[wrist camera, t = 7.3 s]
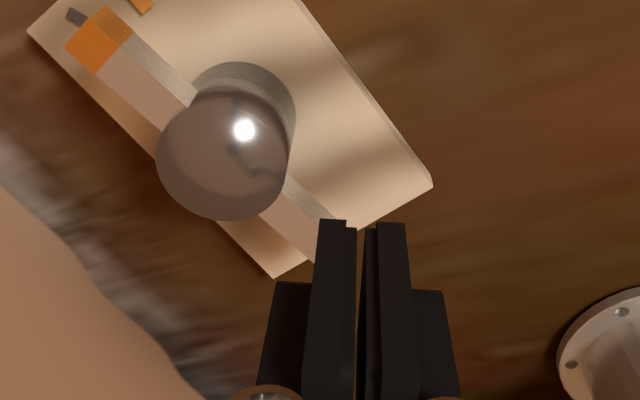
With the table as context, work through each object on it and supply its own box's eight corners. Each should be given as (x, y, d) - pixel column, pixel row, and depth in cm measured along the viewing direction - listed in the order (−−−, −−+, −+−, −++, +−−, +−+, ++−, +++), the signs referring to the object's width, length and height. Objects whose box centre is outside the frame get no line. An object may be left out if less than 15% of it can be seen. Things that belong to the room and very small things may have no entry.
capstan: (379, 178, 34) (383, 238, 29) (303, 235, 36) (295, 299, 31) (156, -44, 28) (114, -16, 23) (83, 41, 30) (31, 83, 25)
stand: (430, 174, 35) (433, 190, 34) (275, 264, 40) (272, 281, 38) (202, -133, 27) (193, -130, 26) (38, 22, 32) (22, 32, 30)
